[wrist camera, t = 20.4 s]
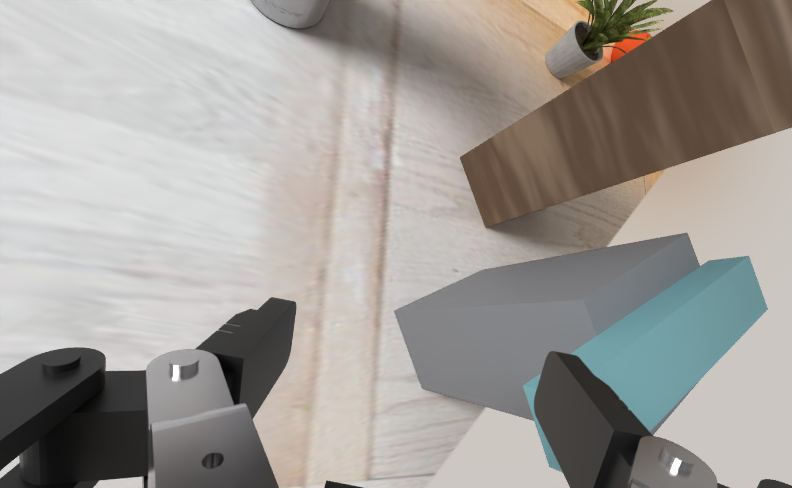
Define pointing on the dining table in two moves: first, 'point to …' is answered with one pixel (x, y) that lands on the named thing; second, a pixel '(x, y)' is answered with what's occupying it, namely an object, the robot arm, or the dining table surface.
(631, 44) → the clementine
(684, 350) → the block
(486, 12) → the dining table surface
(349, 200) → the dining table surface
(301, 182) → the dining table surface
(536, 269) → the block
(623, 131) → the stand
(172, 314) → the dining table surface
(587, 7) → the house plant
